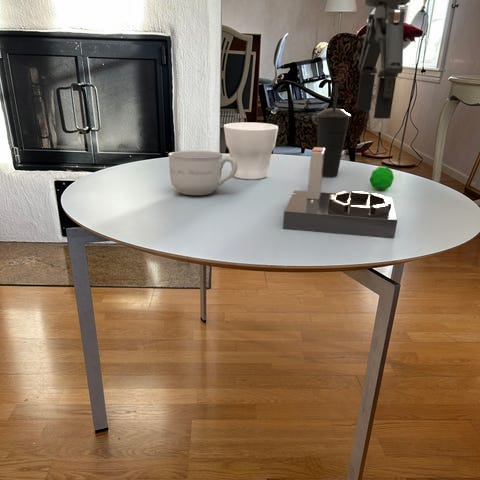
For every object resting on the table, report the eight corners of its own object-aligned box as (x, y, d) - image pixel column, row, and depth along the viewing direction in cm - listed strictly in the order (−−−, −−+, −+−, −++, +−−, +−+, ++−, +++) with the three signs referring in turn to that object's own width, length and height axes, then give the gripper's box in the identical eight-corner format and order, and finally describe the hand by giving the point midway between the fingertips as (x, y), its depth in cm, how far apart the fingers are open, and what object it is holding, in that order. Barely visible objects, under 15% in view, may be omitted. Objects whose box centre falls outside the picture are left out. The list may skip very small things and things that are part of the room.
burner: (387, 202, 84) (389, 193, 84) (391, 219, 76) (392, 209, 75) (330, 198, 86) (331, 189, 85) (327, 214, 78) (328, 204, 77)
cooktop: (388, 211, 90) (391, 194, 89) (394, 238, 77) (397, 219, 76) (290, 203, 94) (291, 187, 92) (279, 228, 80) (280, 209, 79)
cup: (212, 176, 113) (212, 125, 107) (242, 167, 122) (243, 120, 116) (258, 184, 107) (259, 131, 101) (285, 174, 116) (288, 125, 110)
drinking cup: (339, 171, 120) (349, 82, 110) (346, 178, 113) (358, 84, 103) (308, 171, 119) (316, 81, 110) (314, 178, 113) (323, 83, 103)
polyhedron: (371, 192, 102) (374, 169, 100) (365, 186, 107) (369, 164, 104) (394, 192, 103) (398, 169, 100) (388, 187, 107) (391, 165, 105)
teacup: (160, 195, 97) (157, 153, 93) (187, 183, 106) (186, 145, 102) (221, 204, 92) (221, 161, 88) (244, 192, 101) (245, 152, 97)
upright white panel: (309, 191, 90) (313, 145, 86) (320, 192, 89) (325, 146, 85) (307, 198, 86) (311, 150, 82) (318, 199, 85) (323, 151, 81)
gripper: (351, -14, 92) (339, 107, 102) (390, -35, 70) (368, 121, 80) (390, -13, 92) (374, 107, 102) (440, -33, 70) (413, 122, 81)
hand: (371, 114), depth 91 cm, fingers open, 13 cm apart
